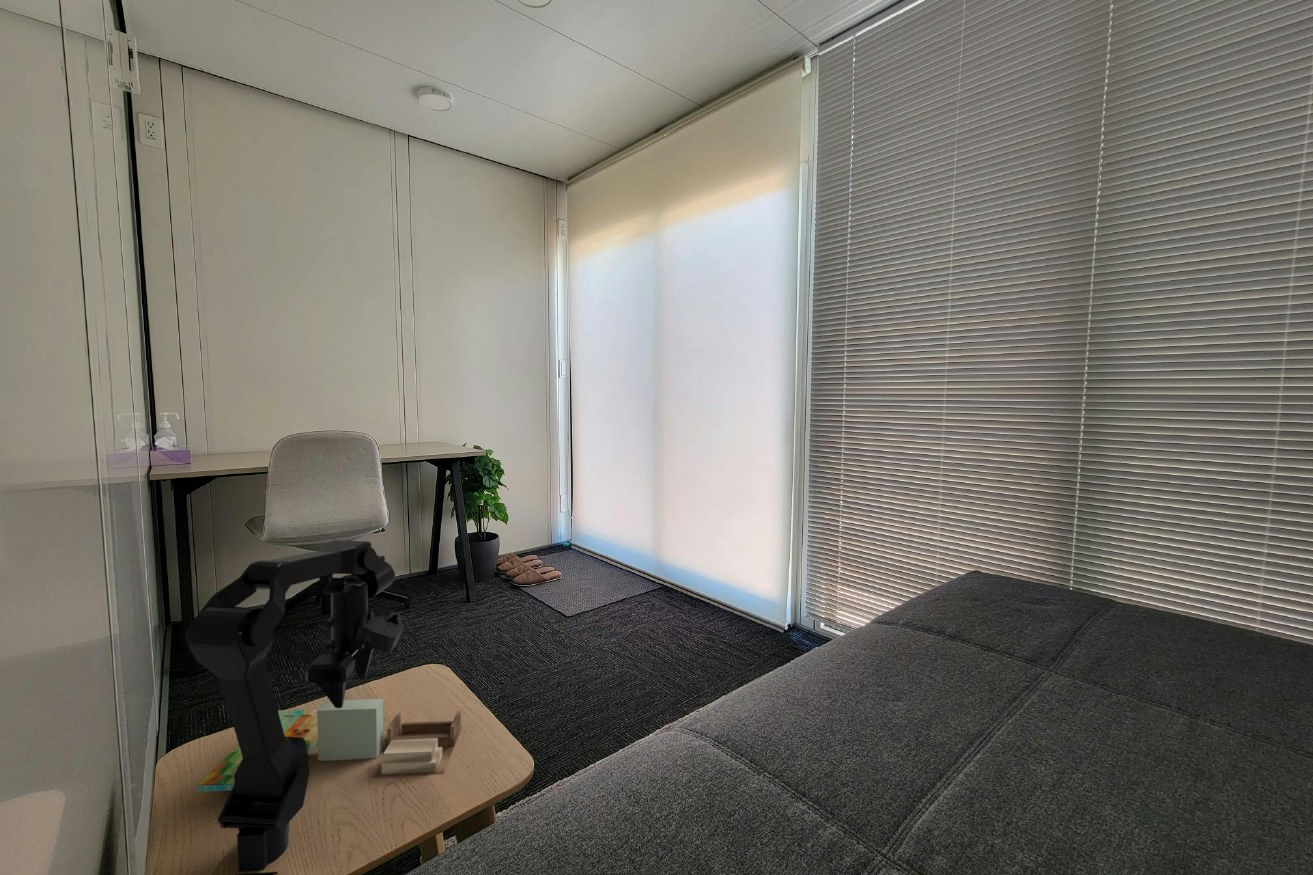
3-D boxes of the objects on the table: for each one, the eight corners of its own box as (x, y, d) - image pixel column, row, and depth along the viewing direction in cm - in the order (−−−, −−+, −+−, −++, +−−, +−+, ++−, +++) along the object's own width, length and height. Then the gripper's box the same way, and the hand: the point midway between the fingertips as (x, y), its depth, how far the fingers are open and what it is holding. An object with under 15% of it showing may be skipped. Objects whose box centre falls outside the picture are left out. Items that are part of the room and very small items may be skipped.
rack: (443, 778, 92) (443, 751, 92) (371, 782, 91) (371, 755, 90) (462, 731, 105) (462, 707, 104) (399, 733, 103) (398, 709, 103)
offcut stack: (435, 771, 92) (435, 752, 92) (381, 774, 91) (381, 755, 91) (442, 756, 96) (442, 737, 96) (390, 758, 95) (390, 739, 95)
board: (376, 760, 95) (376, 708, 94) (318, 763, 94) (317, 710, 93) (383, 749, 98) (383, 698, 97) (326, 752, 97) (325, 700, 96)
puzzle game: (337, 704, 105) (275, 777, 85) (337, 726, 105) (275, 804, 86) (274, 705, 104) (197, 779, 84) (275, 728, 104) (198, 807, 84)
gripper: (375, 632, 86) (377, 722, 87) (414, 589, 104) (414, 664, 106) (302, 633, 84) (305, 725, 86) (355, 589, 103) (356, 665, 104)
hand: (351, 692), depth 95 cm, fingers open, 9 cm apart
